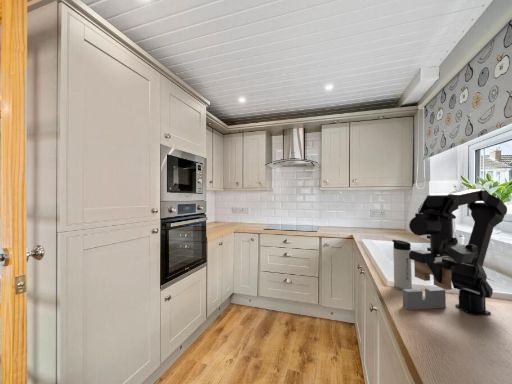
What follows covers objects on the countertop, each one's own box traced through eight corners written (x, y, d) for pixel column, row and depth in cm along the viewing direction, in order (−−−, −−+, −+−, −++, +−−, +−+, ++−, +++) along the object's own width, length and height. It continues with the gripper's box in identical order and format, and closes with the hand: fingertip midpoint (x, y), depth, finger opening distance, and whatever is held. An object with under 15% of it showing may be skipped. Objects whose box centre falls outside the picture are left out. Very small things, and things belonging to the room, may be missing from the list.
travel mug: (394, 284, 102) (393, 238, 102) (412, 287, 98) (410, 240, 98) (392, 288, 97) (391, 241, 97) (411, 292, 93) (410, 242, 93)
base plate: (439, 304, 83) (439, 287, 83) (445, 307, 80) (445, 290, 80) (402, 306, 82) (402, 289, 82) (407, 309, 79) (407, 292, 79)
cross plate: (419, 276, 84) (419, 259, 84) (451, 289, 72) (451, 270, 72) (414, 276, 83) (414, 259, 83) (446, 289, 71) (445, 270, 71)
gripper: (437, 239, 65) (439, 295, 64) (495, 236, 67) (497, 290, 67) (407, 232, 76) (408, 280, 75) (457, 230, 78) (458, 277, 78)
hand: (442, 282), depth 74 cm, fingers closed on cross plate, 2 cm apart
